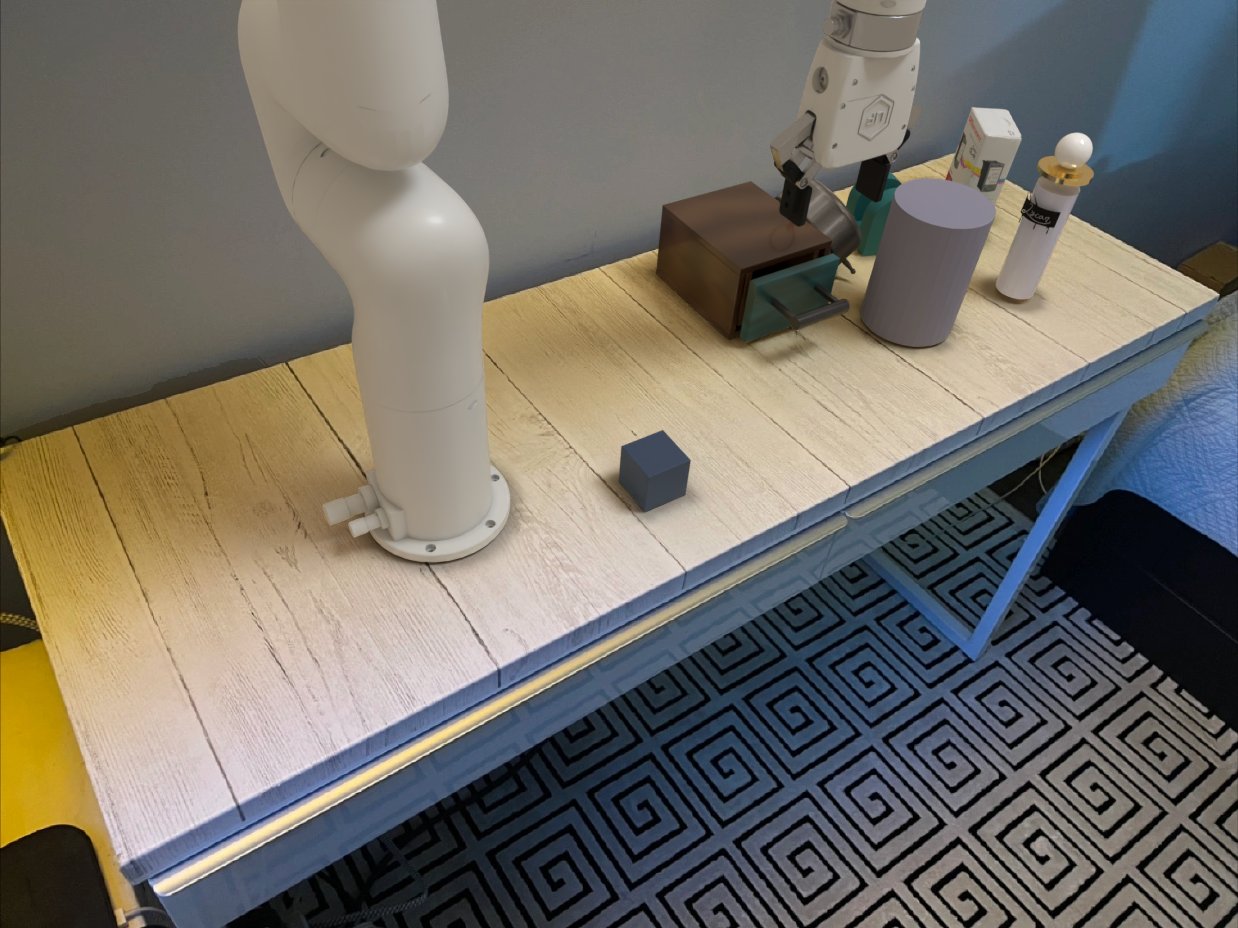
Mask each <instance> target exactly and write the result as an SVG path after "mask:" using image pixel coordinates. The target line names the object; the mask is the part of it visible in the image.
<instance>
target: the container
mask: <svg viewBox="0 0 1238 928" xmlns="http://www.w3.org/2000/svg"><path fill="white" fill-rule="evenodd" d="M996 215H997V210H996V205H995V206H994V205H993V203H992V202H991V201H990V200H989V199H988V198H987V197H986V196H985V195H983V194H982V193H980V192H979V191H977V190H975V189H973V188H971V187H968V186H966V185H963V184H960V183H957V182H953V181H948V180H945V179H942V178H929V177H927V178H917V179H916V178H915V179H911V180H908V181H905V182H903V183H902V184H901V185H900V186H899V187H898V188H897V189H896V191H895V193H894V197H893V200H892V204H891V207H890V211H889V214H888V217H887V221H886V224H885V228H884V231H883V235H882V238H881V241H880V245H879V248H878V252H877V255H875V259H874V263H873V266H872V269H871V273H870V276H869V279H868V283H867V286H866V290H865V293H864V296H863V300H862V304H861V307H860V317H861V320H862V322H863V323H864V325H865V326H866V327H867V329H869V330H870V331H871V332H872V333H874V334H875V335H876V336H878V337H880V338H882V339H883V340H886V341H889V342H891V343H894V344H897V345H902V346H905V347H906V346H907V347H916V348H918V347H919V348H923V347H931V346H934V345H938V344H941V343H943V342H944V341H946V340H947V339H948V337H949V336H950V335H951V333H952V330H953V327H954V325H955V322H956V320H957V317H958V314H959V312H960V309H961V306H962V304H963V302H964V299H965V296H966V294H967V291H968V289H969V286H970V284H971V281H972V278H973V276H974V273H975V270H976V268H977V265H978V263H979V260H980V257H981V255H982V252H983V249H984V247H985V245H986V242H987V240H988V236H989V235H990V231H991V228H992V226H993V223H994V221H995V218H996Z"/></svg>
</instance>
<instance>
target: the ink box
mask: <svg viewBox="0 0 1238 928" xmlns="http://www.w3.org/2000/svg"><path fill="white" fill-rule="evenodd" d="M1021 142H1022V134H1021V132H1020V130H1019V128H1018V126H1017V124H1016V122H1015V121H1014V119H1013V117H1012V115H1011V113H1010V111H1009V110H1008V109H1006V108H1005V109H1004V108H989V107H974V106H972V107H971V108H970V112H969V115H968V117H967V120H966V122H965V126H964V129H963V131H962V134H961V137H960V139H959V142H958V145H957V147H956V150H955V152H954V155H953V157H952V161H951V163H950V166H949V169H948V171H947V174H946V177H945V179H944V180H948V181H953V182H957V183H960V184H963V185H966V186H968V187H971V188H973V189H975V190H977V191H979V192H980V193H982V194H983V195H985V196H986V197H987V198H988V199H989V200H990V201H991V202H992V203H993V205H994V206H995V207H996V205H997V202H998V200H999V197H1000V195H1001V193H1002V190H1003V187H1004V185H1005V182H1006V179H1007V177H1008V174H1009V172H1010V169H1011V168H1012V165H1013V163H1014V159H1015V157H1016V155H1017V152H1018V149H1019V147H1020V145H1021Z"/></svg>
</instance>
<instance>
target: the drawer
mask: <svg viewBox="0 0 1238 928" xmlns="http://www.w3.org/2000/svg"><path fill="white" fill-rule="evenodd" d="M818 255H819V250H818V251H815V252H812V253H809V254H805V255H802V256H799V257H796V258H793V259H790V260H787V261H784V262H781V263H777V264H774V265H771V266H768V267H765V268H762V269H759V270H756V271H753V272H750V273H746V274H745V278H744V284H743V289H742V295H741V301H740V306H739V312H738V318H737V323H736V325H737V326H740V325H742V327H741V332H740V336H739V338H740V339H741V340H742V341H743V342H744V343H746V344H747V343H749V342H753V341H755V340H758V339H761V338H764V337H766V336H769V335H771V334H774V333H777V332H780V331H783V330H786V329H789V328H791V329H792V330H794V331H799V330H803V329H806V328H808V327H811V326H814V325H816V324H820V323H822V322H825V321H827V320H830V319H833V318H836V317H838V316H841V315H843V314H844V315H845V314H848V312H850V309H851V304H850V302H849V300H848V299H846V298H841V299H839V298H838V297H837V296H835V295H834V294H832V292H833V288H834V284H835V280H836V276H837V272H838V268H839V266H840V265H839V261H840V258H839V257H837V256H836V255H835V254H833V253H832V254H829V255H826V256H823V257H820V258H818ZM838 265H839V266H838Z"/></svg>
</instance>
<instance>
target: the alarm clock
mask: <svg viewBox="0 0 1238 928" xmlns="http://www.w3.org/2000/svg"><path fill="white" fill-rule="evenodd" d="M808 185H809V186H811V187H812V195H811V200H810V204H809V209H808V214H807V218H806V221H807V222H808V223H810V224H811V225H812V226H814V227H815V228H816V229H818V230H819V231H821V232H822V233H823V234H825V235H826V236H828V237H829V238H830V239H832V245H831V248H830V252H829V254H832V253H833V254H835V255H836V256H837V257H839V258H840V261H839V265H838V267H839V266H840V265H841V264H842V265H843V266H844V267H845V268H847V269H848V270H849V272H850V274H851V275H855V274H856V272H857V271H856V268H853V266H852V265H851V263H850V261H849V260H848V258H849V256H850V255H852V254H853V253H854V252H855V251H856V250H857V248H858V247H859V245H860V243H861V232H860V229H859V226H858V224H857V222H856V220H855V216H853V215H852V214H851V212H850V211H849V210H848V208H847V207H846V204H845V203H844V202H843V201H842V200H841V198H839V196H838V195H836V193H834V192H833V191H832V190H831V189H830V188H829V187H828V186H827V185H825V184H823V182H821V181H819V180H818V179H816V178H815V177H814V178H813V179H812V180H811V182H810V183H809V184H808ZM782 192H783V190H781V191H780V193H778V194H777V195H776V196H774V198H775V199H776V200H778V201H779V202H781V198H782Z"/></svg>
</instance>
